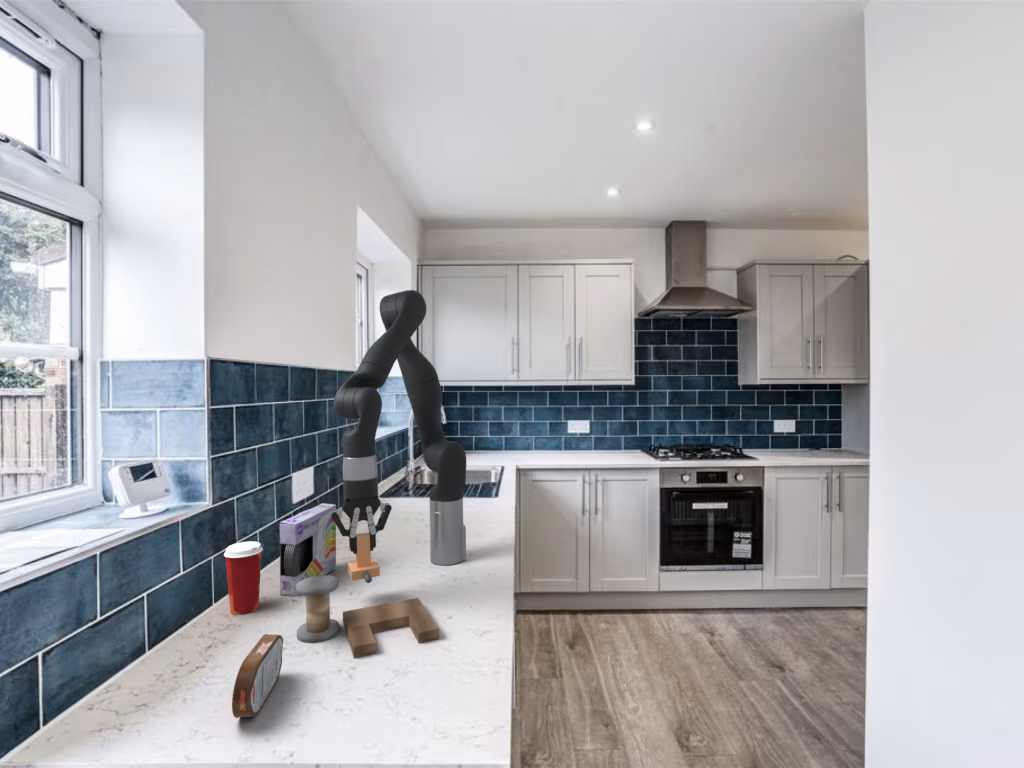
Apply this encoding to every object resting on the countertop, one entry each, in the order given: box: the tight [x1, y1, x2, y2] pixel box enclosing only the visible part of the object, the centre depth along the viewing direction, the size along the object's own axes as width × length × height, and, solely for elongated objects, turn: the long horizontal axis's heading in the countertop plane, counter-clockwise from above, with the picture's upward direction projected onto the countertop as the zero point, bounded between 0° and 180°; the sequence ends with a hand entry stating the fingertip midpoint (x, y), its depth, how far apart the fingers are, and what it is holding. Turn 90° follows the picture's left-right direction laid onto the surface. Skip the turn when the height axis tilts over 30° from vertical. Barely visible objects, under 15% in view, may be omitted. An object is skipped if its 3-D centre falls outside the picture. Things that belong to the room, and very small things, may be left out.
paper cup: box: [223, 541, 264, 616], centre depth 115 cm, size 8×8×14 cm
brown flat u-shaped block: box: [342, 597, 440, 659], centre depth 105 cm, size 16×16×2 cm
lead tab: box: [347, 531, 381, 584], centre depth 116 cm, size 6×10×9 cm, turn 25°
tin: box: [231, 633, 284, 719], centre depth 82 cm, size 15×3×8 cm, turn 6°
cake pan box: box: [279, 503, 337, 597], centre depth 130 cm, size 19×5×18 cm, turn 168°
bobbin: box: [296, 574, 341, 644], centre depth 104 cm, size 8×8×10 cm
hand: (362, 551), depth 118 cm, fingers closed on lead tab, 3 cm apart
